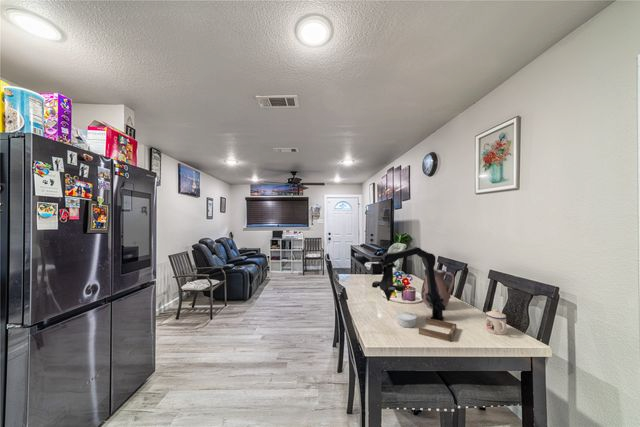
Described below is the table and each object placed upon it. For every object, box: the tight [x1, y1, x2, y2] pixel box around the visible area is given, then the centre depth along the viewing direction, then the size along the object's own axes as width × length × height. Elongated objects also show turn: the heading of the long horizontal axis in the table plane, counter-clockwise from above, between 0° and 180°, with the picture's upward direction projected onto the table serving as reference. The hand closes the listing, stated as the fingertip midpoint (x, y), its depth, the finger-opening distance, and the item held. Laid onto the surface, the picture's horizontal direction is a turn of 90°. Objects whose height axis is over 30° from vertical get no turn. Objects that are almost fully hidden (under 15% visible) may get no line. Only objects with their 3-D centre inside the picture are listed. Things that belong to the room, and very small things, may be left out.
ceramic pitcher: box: [420, 268, 456, 309], centre depth 174 cm, size 18×21×25 cm
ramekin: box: [395, 311, 418, 329], centre depth 145 cm, size 11×11×5 cm
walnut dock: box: [418, 317, 458, 343], centre depth 135 cm, size 17×15×3 cm
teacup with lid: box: [485, 308, 507, 336], centre depth 133 cm, size 12×9×12 cm
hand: (388, 300), depth 151 cm, fingers closed
